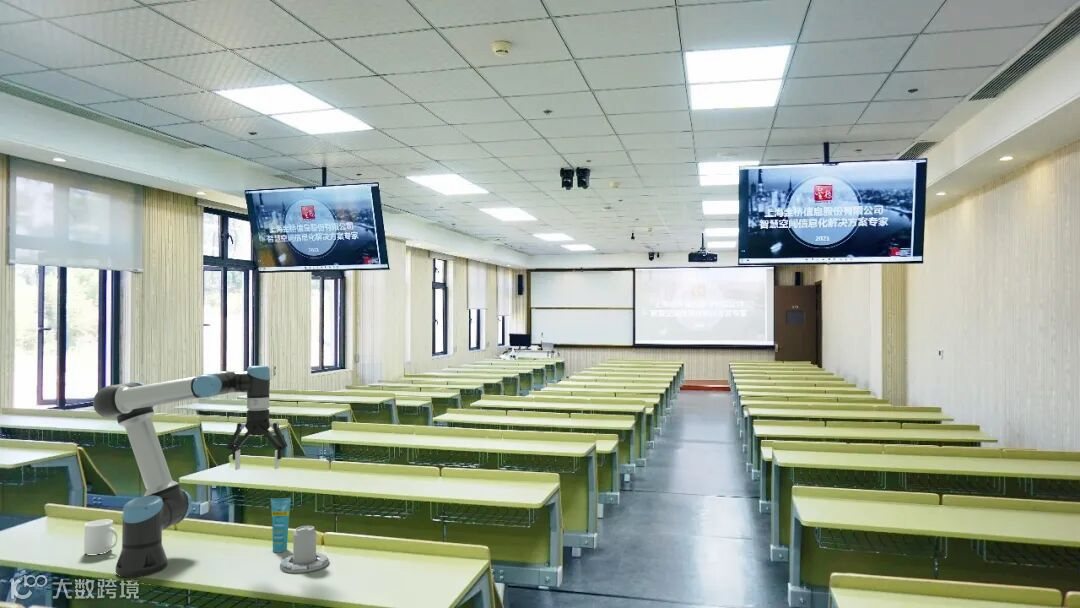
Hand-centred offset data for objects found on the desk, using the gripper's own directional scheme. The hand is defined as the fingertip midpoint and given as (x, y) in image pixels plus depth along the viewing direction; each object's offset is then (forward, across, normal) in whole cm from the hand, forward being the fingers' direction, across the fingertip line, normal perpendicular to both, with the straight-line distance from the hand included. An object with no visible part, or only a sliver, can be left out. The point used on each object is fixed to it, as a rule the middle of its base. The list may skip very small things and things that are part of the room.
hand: (257, 468), depth 240 cm
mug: (+32, -58, +11) cm, 67 cm away
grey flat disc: (+32, +19, -8) cm, 38 cm away
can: (+31, +19, -8) cm, 37 cm away
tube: (+32, +6, +8) cm, 33 cm away
